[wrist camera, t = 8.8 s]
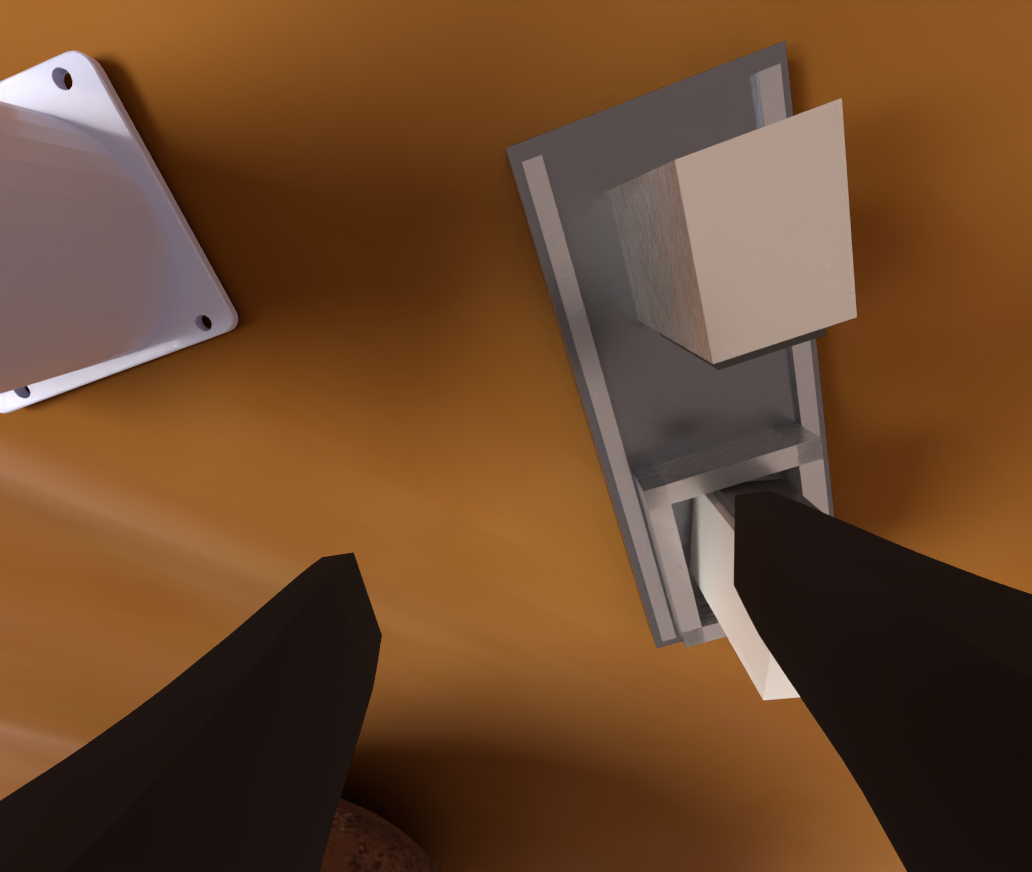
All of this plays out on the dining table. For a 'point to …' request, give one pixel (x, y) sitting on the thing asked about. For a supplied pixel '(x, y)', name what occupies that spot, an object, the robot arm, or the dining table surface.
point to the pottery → (371, 844)
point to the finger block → (717, 579)
